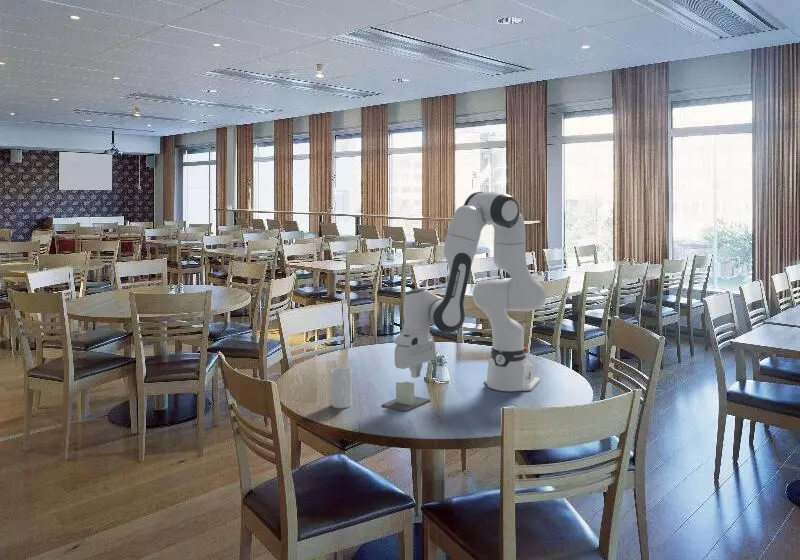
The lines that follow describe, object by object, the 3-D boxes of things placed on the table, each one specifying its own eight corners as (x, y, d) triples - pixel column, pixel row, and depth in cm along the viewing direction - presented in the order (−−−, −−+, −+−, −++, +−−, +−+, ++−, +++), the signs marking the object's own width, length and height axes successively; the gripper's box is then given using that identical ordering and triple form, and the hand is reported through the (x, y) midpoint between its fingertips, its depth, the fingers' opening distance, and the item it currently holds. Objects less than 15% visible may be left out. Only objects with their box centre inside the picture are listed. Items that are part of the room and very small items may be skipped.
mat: (406, 396, 240) (406, 394, 239) (430, 401, 234) (430, 399, 234) (381, 406, 228) (381, 404, 228) (406, 411, 222) (406, 410, 222)
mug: (329, 403, 232) (329, 368, 230) (349, 401, 233) (349, 367, 232) (335, 412, 222) (335, 376, 220) (356, 410, 224) (355, 374, 222)
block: (399, 400, 233) (399, 380, 232) (414, 403, 229) (414, 383, 228) (396, 401, 231) (396, 381, 230) (410, 405, 227) (410, 384, 227)
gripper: (424, 331, 243) (424, 370, 244) (391, 340, 226) (391, 381, 227) (440, 333, 239) (439, 372, 240) (407, 342, 222) (406, 384, 224)
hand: (415, 377), depth 234 cm, fingers closed
